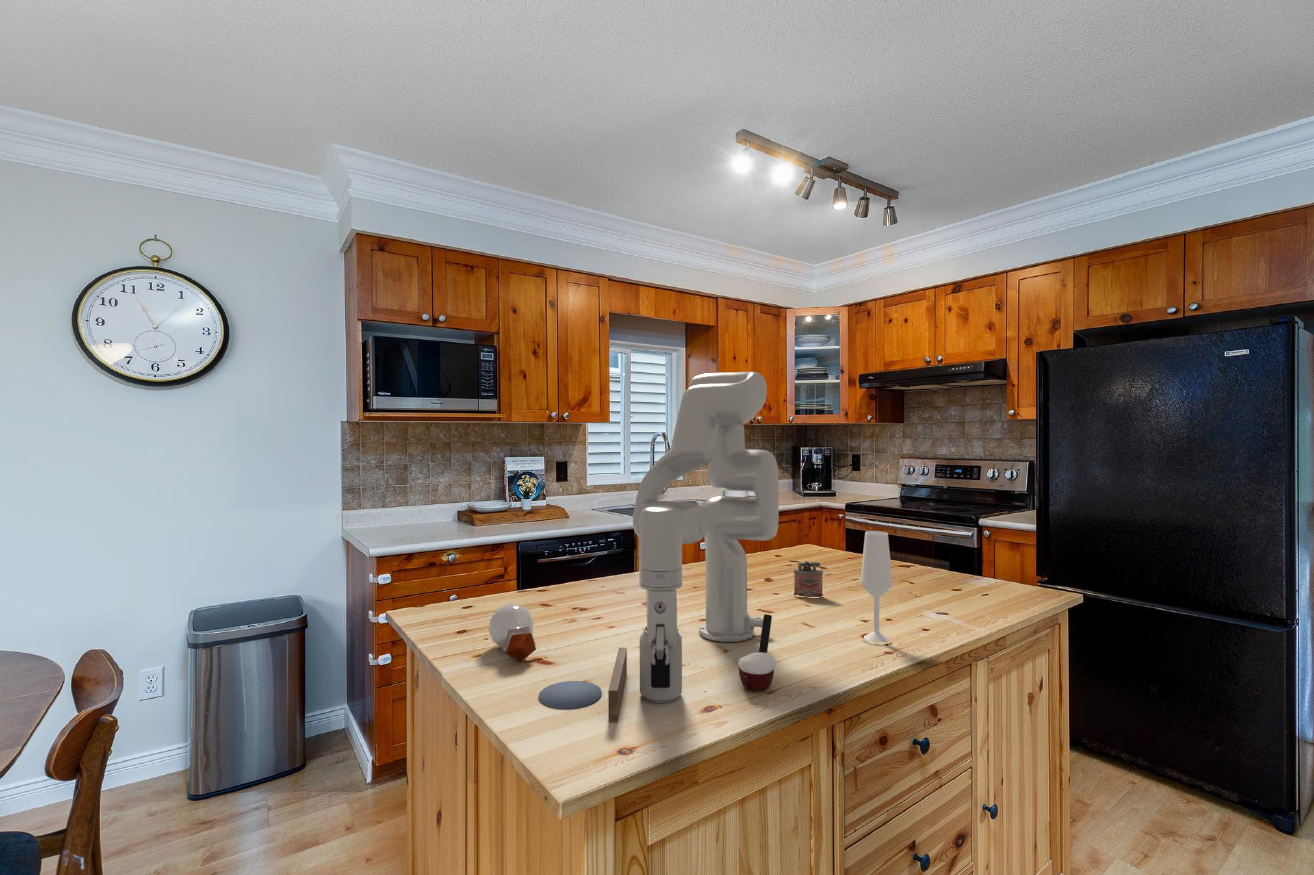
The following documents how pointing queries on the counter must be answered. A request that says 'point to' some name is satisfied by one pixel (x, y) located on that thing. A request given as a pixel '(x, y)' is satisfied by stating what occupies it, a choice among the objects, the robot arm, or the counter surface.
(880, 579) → the champagne flute
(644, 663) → the can
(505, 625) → the potion bottle
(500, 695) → the counter surface
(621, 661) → the low wall
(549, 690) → the mat
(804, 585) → the lighter
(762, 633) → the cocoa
